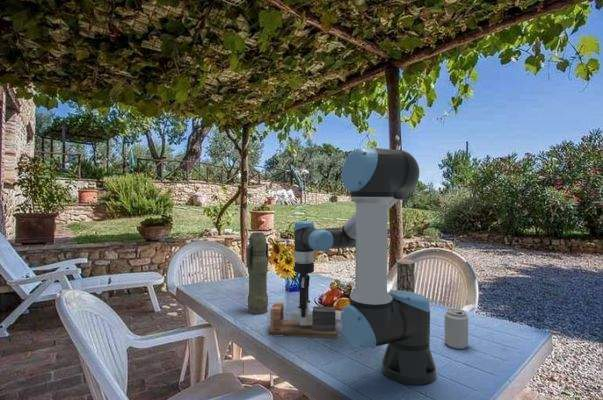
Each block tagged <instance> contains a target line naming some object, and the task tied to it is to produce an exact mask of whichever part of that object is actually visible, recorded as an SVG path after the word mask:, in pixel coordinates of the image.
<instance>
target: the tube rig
mask: <svg viewBox="0 0 603 400" xmlns="http://www.w3.org/2000/svg"><path fill="white" fill-rule="evenodd" d="M284 304H285V303H284V302H278V301H277V302H276V301H275V302H273V305H272V306H271V307H270V328H269V330H268V336H269V335H283V336H282V337H290V336H293V337H295V338H316V337H320V339H321V338H322V339H337V338H338V335H337V333H338V332H337V331H338V330H337V329H338V326H337V325H338V323H337V321H336V306H317V305H315V306H313V307H312V310H311V311H312V322H308V323H307V325H300V322H299V321H292V320H284V317H285V315H284V312H285V311H284V308H285V307H284ZM293 337H292V338H293Z"/></svg>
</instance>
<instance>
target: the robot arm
mask: <svg viewBox="0 0 603 400" xmlns="http://www.w3.org/2000/svg"><path fill="white" fill-rule="evenodd" d="M419 178H420V168H419V163H418V162H417V160H416V158H415V157H414V156H413V155H411V153H410V152H407V151H405V150H403V149H389V148H380V147H379V148H378V147H358V148H355V149H353V150H352V151H351V152H350V153H349V154H348V155H347V157H346V158H345V159H344V162H343V165H342V168H341V181H342V183H343V187H344V189H346V190H347V191H349V192H350V195H349V196H350V197H349V198H350V199H351V200H352V201H353V202H354V203H355V212H354V213H353V214H352V215H351V216H350V218H349V219H347V220H346V222H345V223H344V224H343V225H342V226H341V227H325V228H316V227H315V224H314V222H313V221H310V220H299V221H296V222H294V227H293V228H294V230H293V233H294V235H293V239H294V240H293V242H294V247H293V248H294V252H292V256H294V261H295V262H294V263H293V264H294V265H293V266H294V267H293V268H294V269H293V270H294V272H295V273H296V274H300V275H299V276H298V289H299V306H297V309H299V311H300V325H307V300H308V304H309V303H311V300H310V295H309V293H310V292H309V290H310V289H309V287H310V279H311V277H310V274H312V273H314V272H315V263H314V261H315V251H316V252H327V251H329V250H333V249H334V250H335V249H345V248H346V249H347V248H351V249H352V248H355V274H354V276H355V281H354V282H355V283H354V285H355V286H354V287H355V289H354V290H352V292H351V293H350V294H349V304H346V305H345V306H344V307H343V308H342V310H341V313H340V322H341V323H340V324H341V326H342V329H343V332H344V335H345V337H346V338H347V340H348V341H349V342H350V344H351V345H352V346H353V347H355V348H357V349H358V350H364V349H375V348H376V347H380V346H384V345H386V348H385V352H384V354H383V357H382V362H381V366H382V367H381V369H382V372H383V373H384V375H386V377H387V378H389V379H391V380H393V381H395V382H397V383H400V384H405V385H411V386H414V385H415V386H422V385H427V384H431V383H432V382H434V381H435V379H437V378H436V377H437V367H436V364H435V361H434V357H433V354H432V351H431V348H430V346H431V345H430V343H431V342H430V340H431V339H430V337H431V336H430V335H431V333H430V332H431V309H430V307H431V306H430V301H429V299H428V298H427V296H424V295H422V294H420V293H417V292H414V293H413V292H408V291H400V290H397V289H395V290H393V289H392V290H390V291H388V239H389V238H388V232H389V229H388V225H389V224H388V223H389V220H388V217H389V215H388V213H389V210H390V209H391V208H392V207H393V206H394V205H395V204H396V203H397V202H398V201H402V200H404V199H406V198H408V196H409V195H410V194H411V193H412V192H413V190H414V189H415V187H416V186H417V184H418V182H419Z"/></svg>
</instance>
